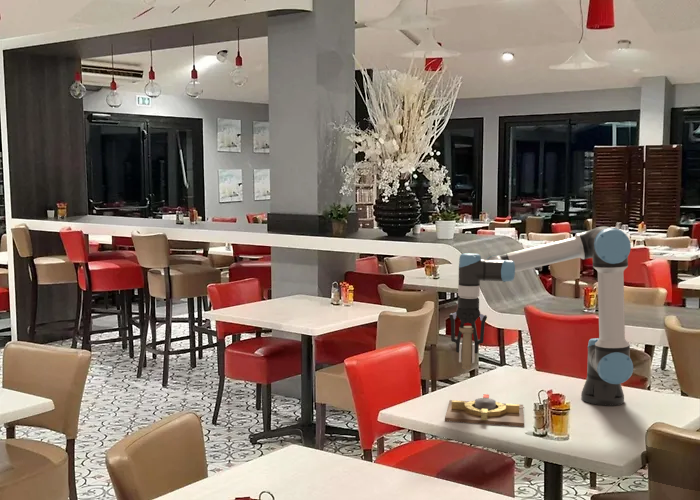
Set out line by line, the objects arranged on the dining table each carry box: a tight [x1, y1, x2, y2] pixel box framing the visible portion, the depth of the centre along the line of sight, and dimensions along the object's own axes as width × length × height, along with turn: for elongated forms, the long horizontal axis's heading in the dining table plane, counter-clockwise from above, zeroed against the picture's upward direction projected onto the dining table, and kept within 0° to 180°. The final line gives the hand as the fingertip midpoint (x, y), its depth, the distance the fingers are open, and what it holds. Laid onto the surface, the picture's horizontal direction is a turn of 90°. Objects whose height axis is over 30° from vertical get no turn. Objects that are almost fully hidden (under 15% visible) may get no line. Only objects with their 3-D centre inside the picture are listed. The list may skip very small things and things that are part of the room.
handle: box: [458, 325, 474, 370], centre depth 290 cm, size 5×6×15 cm
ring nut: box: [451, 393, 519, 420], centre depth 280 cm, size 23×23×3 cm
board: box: [444, 397, 525, 428], centre depth 280 cm, size 26×22×5 cm
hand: (466, 361), depth 290 cm, fingers closed on handle, 4 cm apart
